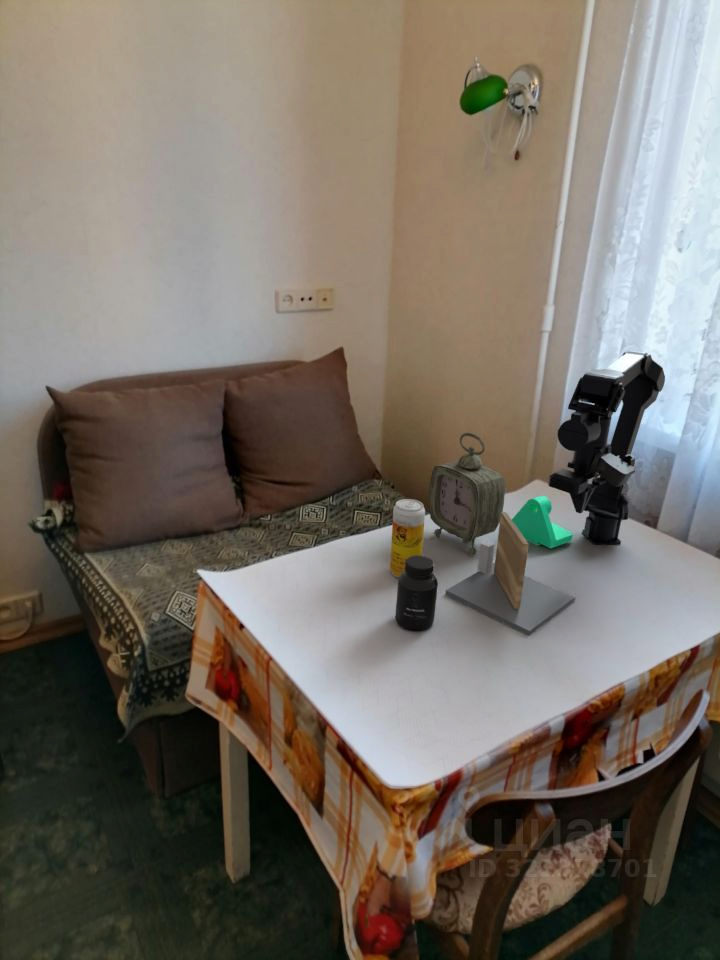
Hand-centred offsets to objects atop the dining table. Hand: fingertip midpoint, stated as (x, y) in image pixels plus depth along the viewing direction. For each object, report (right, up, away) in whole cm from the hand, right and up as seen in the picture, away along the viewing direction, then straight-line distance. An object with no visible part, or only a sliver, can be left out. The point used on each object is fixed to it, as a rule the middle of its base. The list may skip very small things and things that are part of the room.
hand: (579, 512), depth 134 cm
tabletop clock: (-21, -7, +13) cm, 26 cm away
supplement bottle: (-34, -19, -17) cm, 43 cm away
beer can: (-35, -12, -1) cm, 37 cm away
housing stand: (-16, -16, -8) cm, 24 cm away
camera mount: (-3, -7, +16) cm, 18 cm away
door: (-16, -14, -8) cm, 23 cm away
